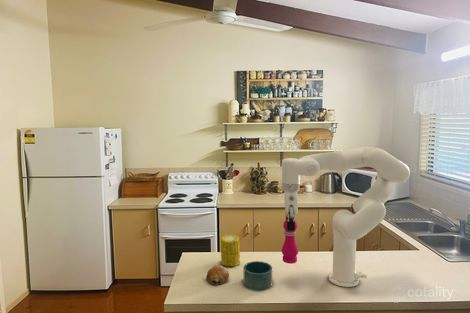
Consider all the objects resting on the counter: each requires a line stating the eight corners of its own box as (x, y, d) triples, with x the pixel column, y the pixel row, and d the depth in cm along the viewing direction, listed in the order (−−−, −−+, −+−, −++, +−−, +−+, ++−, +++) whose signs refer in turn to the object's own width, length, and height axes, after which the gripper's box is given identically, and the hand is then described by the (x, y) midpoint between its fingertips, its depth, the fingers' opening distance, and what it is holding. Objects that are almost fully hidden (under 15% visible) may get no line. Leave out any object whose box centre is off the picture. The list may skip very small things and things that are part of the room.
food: (239, 262, 165) (236, 272, 155) (218, 256, 166) (213, 265, 156) (246, 235, 162) (243, 243, 152) (224, 229, 163) (219, 237, 153)
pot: (271, 276, 146) (271, 261, 146) (272, 290, 134) (272, 274, 133) (244, 275, 148) (244, 260, 147) (242, 289, 135) (242, 273, 134)
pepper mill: (286, 255, 145) (287, 213, 143) (301, 260, 141) (301, 215, 139) (278, 261, 140) (278, 216, 138) (293, 265, 135) (293, 219, 133)
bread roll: (231, 287, 144) (234, 268, 146) (219, 286, 135) (223, 267, 138) (212, 281, 149) (216, 264, 151) (200, 281, 140) (205, 262, 143)
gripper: (301, 191, 128) (301, 234, 130) (297, 183, 145) (296, 221, 147) (283, 191, 129) (282, 234, 131) (280, 183, 146) (280, 221, 148)
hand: (290, 227), depth 139 cm, fingers closed on pepper mill, 6 cm apart
